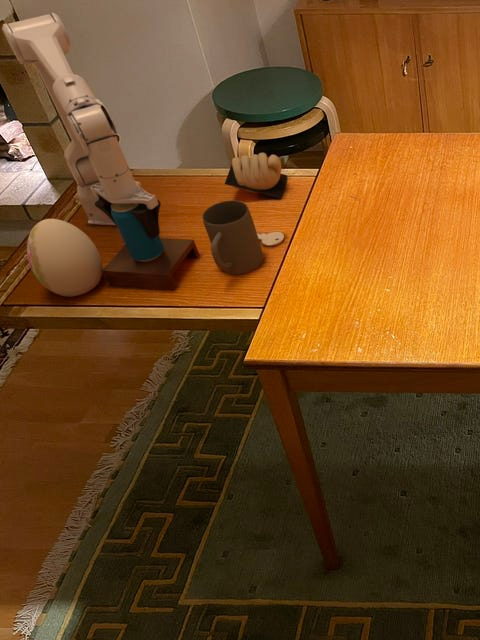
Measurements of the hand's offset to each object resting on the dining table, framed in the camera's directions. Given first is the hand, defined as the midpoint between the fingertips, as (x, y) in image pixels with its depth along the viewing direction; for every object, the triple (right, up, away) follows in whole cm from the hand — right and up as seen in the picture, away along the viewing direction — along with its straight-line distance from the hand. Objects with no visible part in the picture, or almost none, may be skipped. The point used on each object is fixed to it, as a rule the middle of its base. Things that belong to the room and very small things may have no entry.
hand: (140, 232), depth 142 cm
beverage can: (0, -4, +3) cm, 5 cm away
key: (+21, +3, +14) cm, 26 cm away
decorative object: (+16, +22, +28) cm, 39 cm away
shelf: (0, -7, +6) cm, 9 cm away
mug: (+18, -7, +5) cm, 20 cm away
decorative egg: (-14, -10, +4) cm, 18 cm away
